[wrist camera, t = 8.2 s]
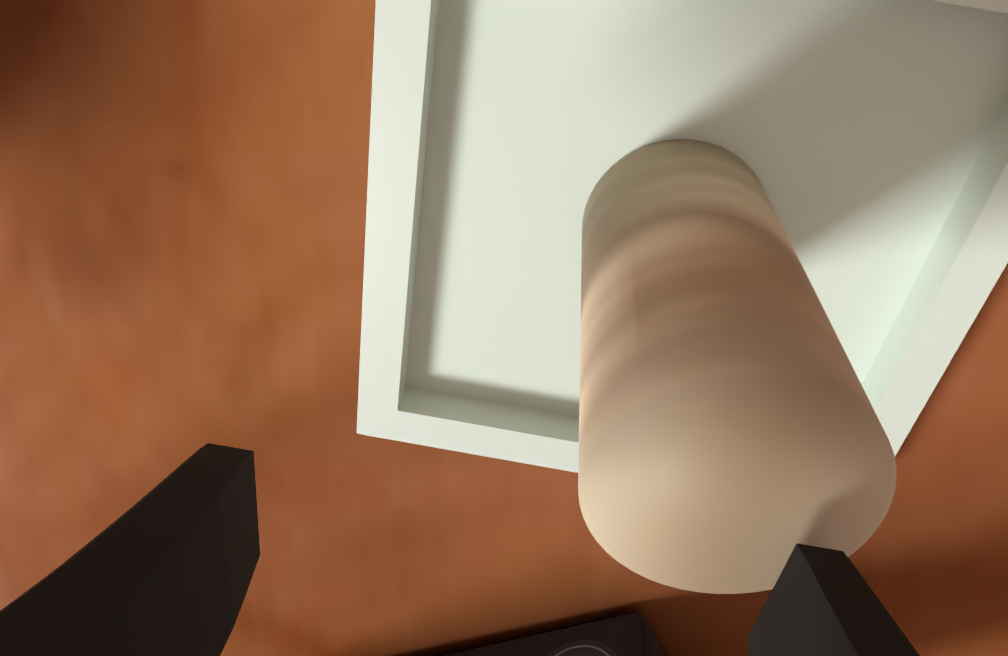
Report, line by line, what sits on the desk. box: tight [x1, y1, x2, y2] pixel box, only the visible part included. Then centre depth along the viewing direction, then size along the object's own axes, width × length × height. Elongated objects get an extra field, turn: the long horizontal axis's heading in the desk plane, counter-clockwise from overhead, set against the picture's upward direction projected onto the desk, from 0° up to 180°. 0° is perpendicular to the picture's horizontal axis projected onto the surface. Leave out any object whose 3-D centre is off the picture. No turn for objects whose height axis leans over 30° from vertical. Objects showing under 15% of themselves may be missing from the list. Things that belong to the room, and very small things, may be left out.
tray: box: [357, 0, 1008, 473], centre depth 17 cm, size 13×13×2 cm
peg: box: [578, 139, 897, 594], centre depth 13 cm, size 4×4×8 cm
